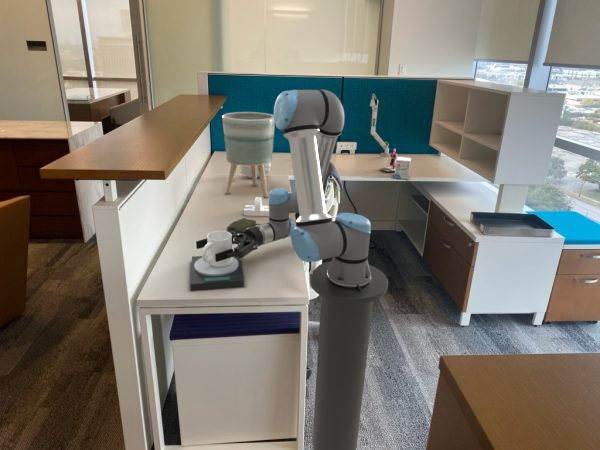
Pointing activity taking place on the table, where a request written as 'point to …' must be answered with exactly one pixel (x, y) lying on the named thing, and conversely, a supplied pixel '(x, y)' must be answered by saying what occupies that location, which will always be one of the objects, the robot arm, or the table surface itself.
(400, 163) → the ink box
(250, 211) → the slotted bracket
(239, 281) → the scale
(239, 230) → the landmine
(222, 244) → the mug
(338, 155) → the table surface
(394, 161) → the statue
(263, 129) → the planter
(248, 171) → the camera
